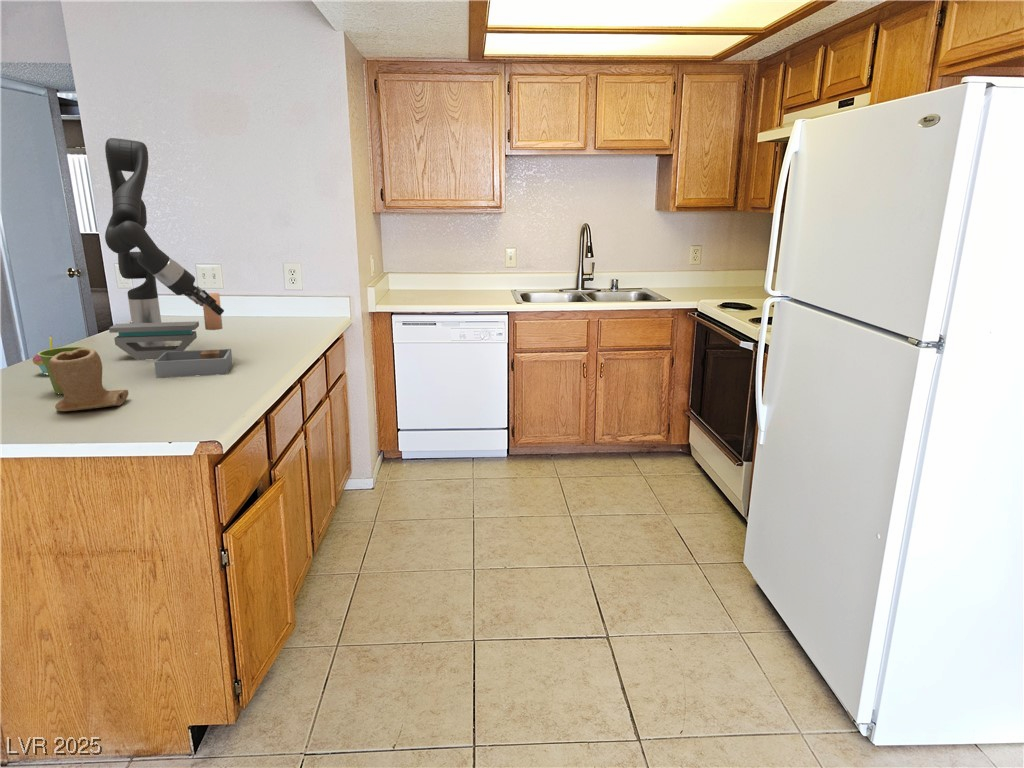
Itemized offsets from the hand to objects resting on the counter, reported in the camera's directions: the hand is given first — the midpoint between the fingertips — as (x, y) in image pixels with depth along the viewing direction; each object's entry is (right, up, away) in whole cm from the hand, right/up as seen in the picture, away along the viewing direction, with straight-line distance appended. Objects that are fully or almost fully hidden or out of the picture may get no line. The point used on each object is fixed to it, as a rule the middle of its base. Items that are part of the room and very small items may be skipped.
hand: (218, 312), depth 206 cm
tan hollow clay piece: (-11, -29, -45) cm, 54 cm away
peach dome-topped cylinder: (-1, -5, 0) cm, 5 cm away
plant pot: (-26, -25, -31) cm, 47 cm away
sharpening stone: (-25, -14, +11) cm, 30 cm away
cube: (+1, -18, -5) cm, 19 cm away
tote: (-4, -19, -6) cm, 20 cm away
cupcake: (-44, -20, -12) cm, 50 cm away
